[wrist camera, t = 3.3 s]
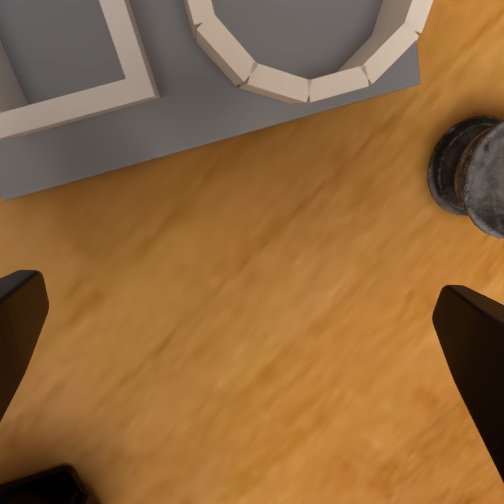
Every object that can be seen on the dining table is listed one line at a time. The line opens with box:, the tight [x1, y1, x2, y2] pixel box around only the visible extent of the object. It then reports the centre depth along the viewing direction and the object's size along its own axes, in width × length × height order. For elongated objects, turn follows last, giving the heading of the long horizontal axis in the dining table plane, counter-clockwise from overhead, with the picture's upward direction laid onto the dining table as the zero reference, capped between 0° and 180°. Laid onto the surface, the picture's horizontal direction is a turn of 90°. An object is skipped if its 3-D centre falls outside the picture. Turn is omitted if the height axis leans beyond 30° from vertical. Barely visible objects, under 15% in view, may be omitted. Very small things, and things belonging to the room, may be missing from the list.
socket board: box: [0, 0, 433, 201], centre depth 16 cm, size 20×11×4 cm, turn 104°
